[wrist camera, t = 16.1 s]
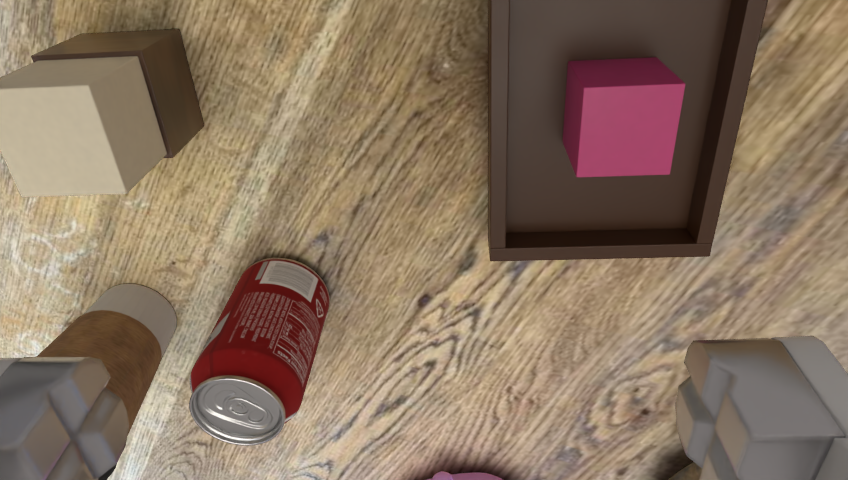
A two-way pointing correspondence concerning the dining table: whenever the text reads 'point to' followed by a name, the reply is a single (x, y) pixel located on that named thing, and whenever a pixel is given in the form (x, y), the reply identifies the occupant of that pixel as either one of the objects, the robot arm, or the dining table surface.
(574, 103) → the pink block
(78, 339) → the coffee cup
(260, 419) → the soda can
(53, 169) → the cream block
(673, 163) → the tray
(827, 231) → the dining table surface
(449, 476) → the teapot
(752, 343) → the robot arm
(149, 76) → the walnut block
